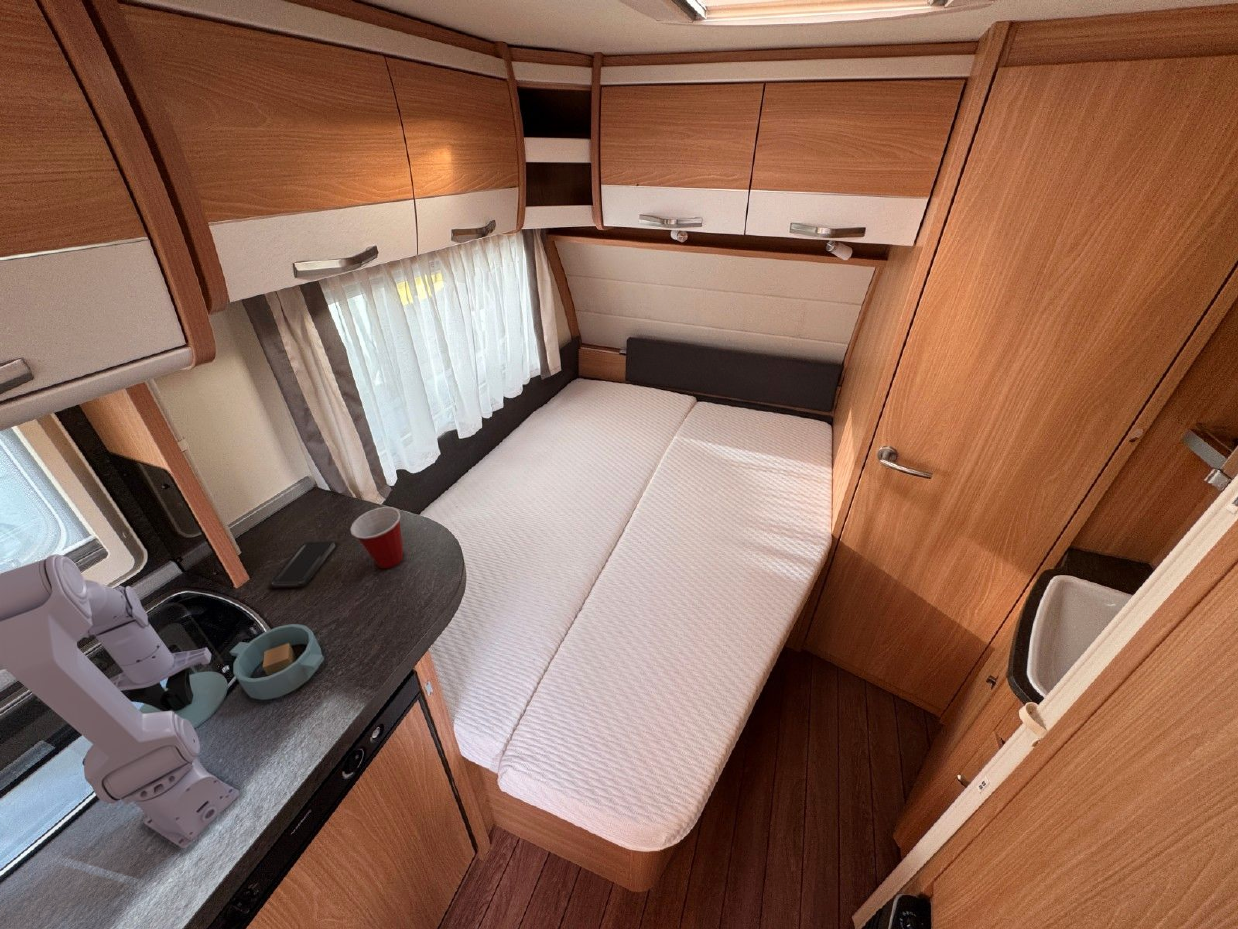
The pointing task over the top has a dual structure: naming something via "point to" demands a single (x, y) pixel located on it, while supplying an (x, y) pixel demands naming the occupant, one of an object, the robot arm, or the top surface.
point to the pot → (285, 679)
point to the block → (278, 659)
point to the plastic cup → (380, 535)
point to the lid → (196, 698)
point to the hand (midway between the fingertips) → (179, 703)
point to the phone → (303, 564)
